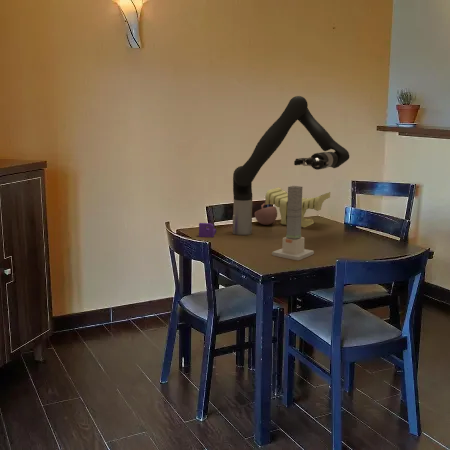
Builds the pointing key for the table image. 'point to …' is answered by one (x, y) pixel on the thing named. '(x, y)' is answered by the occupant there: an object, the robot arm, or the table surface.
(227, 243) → the table surface
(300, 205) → the column
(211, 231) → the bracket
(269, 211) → the mortar and pestle
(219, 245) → the table surface
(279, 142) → the robot arm
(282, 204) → the slatted curved stool
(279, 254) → the stand
